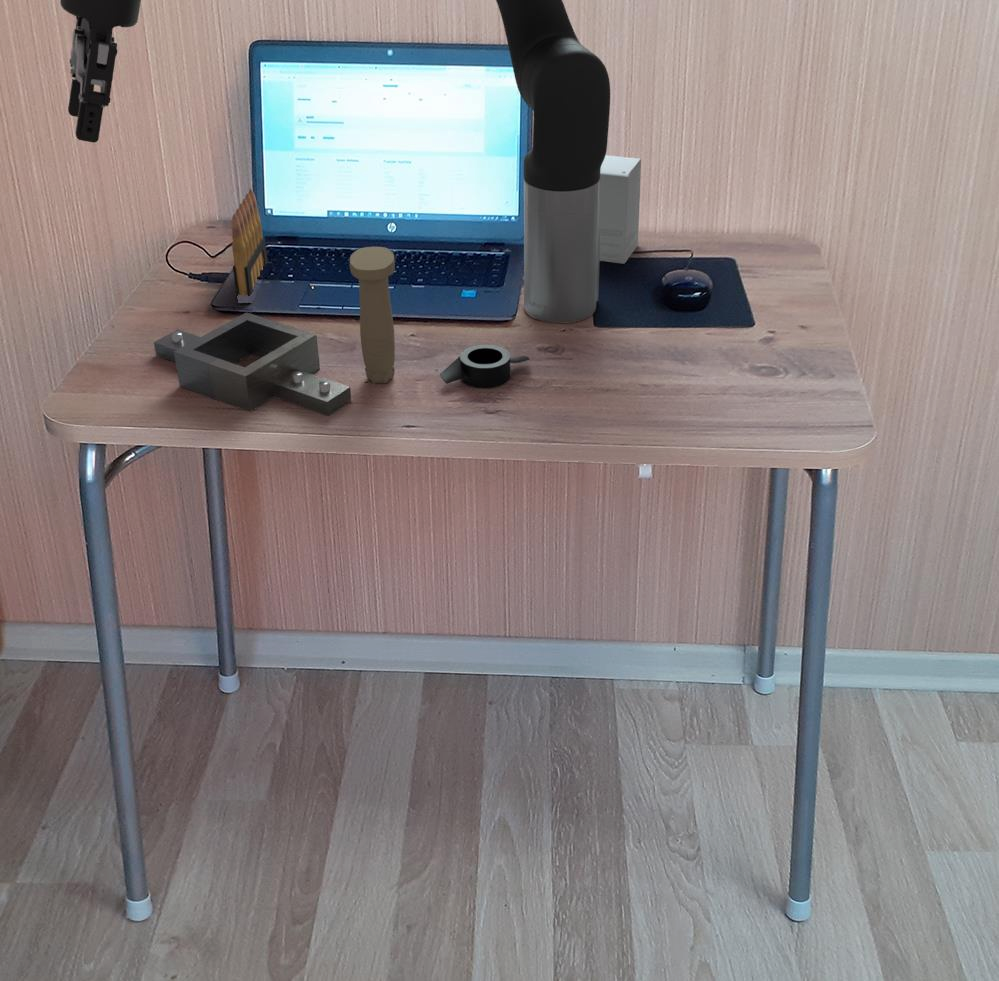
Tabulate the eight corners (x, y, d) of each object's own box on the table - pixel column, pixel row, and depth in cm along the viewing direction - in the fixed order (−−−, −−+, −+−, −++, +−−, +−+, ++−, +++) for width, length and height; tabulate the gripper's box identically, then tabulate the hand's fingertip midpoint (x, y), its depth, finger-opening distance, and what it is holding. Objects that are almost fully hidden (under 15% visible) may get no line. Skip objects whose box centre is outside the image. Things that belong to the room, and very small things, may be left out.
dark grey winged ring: (524, 396, 148) (524, 374, 147) (437, 392, 149) (436, 369, 148) (531, 364, 155) (531, 342, 153) (448, 360, 156) (447, 339, 154)
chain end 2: (214, 398, 148) (209, 363, 146) (284, 357, 157) (280, 323, 154) (304, 431, 142) (300, 395, 139) (373, 386, 150) (370, 351, 148)
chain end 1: (131, 368, 155) (124, 334, 152) (203, 330, 163) (198, 297, 160) (214, 398, 148) (209, 363, 146) (284, 357, 157) (280, 323, 154)
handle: (402, 364, 155) (394, 246, 146) (400, 391, 149) (392, 269, 141) (361, 365, 154) (351, 247, 146) (358, 392, 149) (348, 270, 141)
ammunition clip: (251, 304, 169) (239, 216, 162) (237, 304, 169) (225, 216, 162) (269, 270, 178) (259, 186, 171) (255, 270, 178) (245, 185, 171)
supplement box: (639, 245, 184) (643, 157, 177) (624, 265, 178) (628, 176, 171) (589, 238, 186) (591, 151, 179) (573, 258, 180) (574, 169, 173)
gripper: (153, -7, 125) (127, 156, 132) (134, -37, 136) (111, 115, 144) (72, -26, 122) (49, 142, 129) (60, -55, 133) (39, 101, 140)
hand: (82, 127), depth 136 cm, fingers open, 8 cm apart
